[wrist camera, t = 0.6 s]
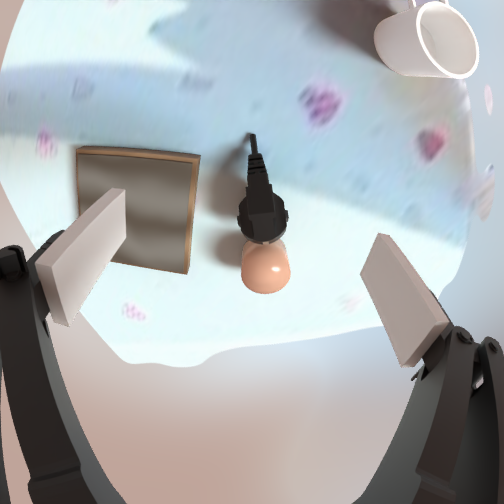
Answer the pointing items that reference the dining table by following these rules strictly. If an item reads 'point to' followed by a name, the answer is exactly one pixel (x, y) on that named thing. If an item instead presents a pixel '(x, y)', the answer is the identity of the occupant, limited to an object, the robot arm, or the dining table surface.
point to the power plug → (261, 203)
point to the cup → (428, 42)
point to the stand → (145, 201)
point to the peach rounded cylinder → (265, 266)
